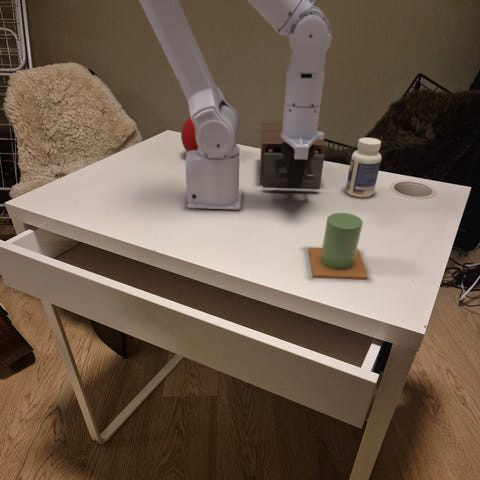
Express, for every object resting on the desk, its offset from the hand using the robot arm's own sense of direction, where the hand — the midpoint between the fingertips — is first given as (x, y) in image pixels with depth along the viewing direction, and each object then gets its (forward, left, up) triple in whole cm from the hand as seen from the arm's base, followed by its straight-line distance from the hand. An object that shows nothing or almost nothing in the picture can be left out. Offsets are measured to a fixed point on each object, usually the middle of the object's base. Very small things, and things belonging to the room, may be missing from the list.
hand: (293, 186), depth 74 cm
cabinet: (0, +16, -3) cm, 16 cm away
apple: (-19, +25, -4) cm, 32 cm away
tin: (+6, -20, -3) cm, 21 cm away
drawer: (0, +9, -2) cm, 10 cm away
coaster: (+6, -20, -3) cm, 21 cm away
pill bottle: (+14, +7, -4) cm, 15 cm away
